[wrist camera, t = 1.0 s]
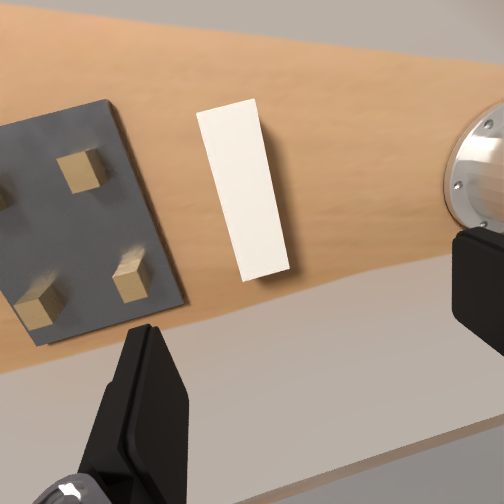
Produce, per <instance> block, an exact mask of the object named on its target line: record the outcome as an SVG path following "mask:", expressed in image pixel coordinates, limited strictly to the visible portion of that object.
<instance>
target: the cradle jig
mask: <svg viewBox="0 0 504 504" xmlns="http://www.w3.org/2000/svg"><path fill="white" fill-rule="evenodd" d="M0 290H1V292H2V293H3V295H4V296H5V298H6V299H7V301H8V303H9V304H10V306H11V307H12V309H13V310H14V312H15V313H16V315H17V317H18V318H19V320H20V321H21V323H22V324H23V326H24V327H25V329H26V331H27V332H28V334H29V335H30V337H31V338H32V340H33V341H34V343H35V345H36V346H41V345H44V344H47V343H51V342H54V341H58V340H61V339H65V338H68V337H72V336H75V335H78V334H82V333H85V332H89V331H92V330H96V329H99V328H103V327H106V326H110V325H113V324H116V323H120V322H123V321H127V320H130V319H134V318H137V317H141V316H144V315H147V314H151V313H154V312H158V311H161V310H165V309H168V308H172V307H175V306H179V305H182V304H184V297H183V294H182V291H181V289H180V286H179V284H178V281H177V278H176V276H175V273H174V270H173V268H172V265H171V263H170V260H169V257H168V255H167V252H166V249H165V247H164V244H163V242H162V239H161V236H160V234H159V231H158V229H157V226H156V223H155V221H154V218H153V215H152V213H151V210H150V208H149V205H148V202H147V200H146V197H145V194H144V192H143V189H142V187H141V184H140V181H139V179H138V176H137V174H136V171H135V168H134V166H133V163H132V160H131V158H130V155H129V153H128V150H127V147H126V145H125V142H124V139H123V137H122V134H121V132H120V129H119V126H118V124H117V121H116V119H115V116H114V113H113V111H112V108H111V105H110V103H109V100H107V99H104V100H100V101H96V102H92V103H88V104H84V105H80V106H77V107H73V108H69V109H65V110H61V111H57V112H53V113H49V114H46V115H42V116H38V117H34V118H30V119H26V120H22V121H19V122H15V123H11V124H7V125H3V126H0Z"/></svg>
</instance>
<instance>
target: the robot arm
mask: <svg viewBox="0 0 504 504" xmlns="http://www.w3.org/2000/svg"><path fill="white" fill-rule="evenodd" d="M444 194H445V200H446V203H447V206H448V208H449V211H450V212H451V214H452V215H453V217H454V218H455V219H456V220H457V221H458V222H459V223H460V224H462V225H463V226H465V227H467V228H469V229H467V230H463V231H460V232H459V233H457V235H456V238H454V239H453V242H452V312H453V315H454V317H455V318H456V319H457V320H458V321H459V322H460V323H462V324H463V325H464V326H465V327H466V328H468V329H469V330H471V331H472V332H473V333H474V334H476V335H477V336H478V337H479V338H481V339H482V340H483V341H484V342H486V343H487V344H488V345H490V346H491V347H492V348H493V349H495V350H496V351H497V352H499V353H500V354H501V355H502V356H504V235H502V234H499V233H503V232H504V101H502V102H500V103H498V104H496V105H493V106H492V107H490V108H489V109H487V110H486V111H485V112H483V113H482V114H480V115H479V116H478V117H477V118H476V119H475V120H474V121H473V122H472V123H471V124H470V125H469V126H468V127H467V129H466V130H465V131H464V133H463V134H462V135H461V136H460V138H459V140H458V141H457V143H456V145H455V147H454V148H453V150H452V153H451V155H450V158H449V161H448V163H447V167H446V172H445V176H444ZM188 423H189V398H188V394H187V391H186V388H185V386H184V384H183V382H182V379H181V377H180V375H179V373H178V370H177V368H176V366H175V363H174V361H173V359H172V357H171V354H170V352H169V350H168V348H167V345H166V343H165V341H164V338H163V336H162V334H161V332H160V330H159V328H158V327H157V326H156V327H152V326H151V325H150V324H145V325H142V326H139V327H135V328H132V329H129V331H128V334H127V337H126V340H125V343H124V346H123V349H122V352H121V356H120V359H119V362H118V365H117V368H116V371H115V374H114V378H113V380H112V382H110V383H109V384H108V385H107V387H106V389H105V392H104V395H103V398H102V401H101V404H100V407H99V410H98V413H97V416H96V419H95V422H94V425H93V428H92V431H91V433H90V436H89V440H88V442H87V445H86V448H85V451H84V454H83V457H82V460H81V463H80V466H79V469H78V472H77V474H72V475H68V476H66V477H64V478H62V479H60V480H58V481H57V482H55V483H54V484H53V485H51V486H50V487H49V488H47V489H46V490H45V491H44V492H43V493H42V494H41V495H40V496H39V497H38V498H37V499H36V500H35V501H34V502H33V504H186V496H187V462H188V426H189V424H188ZM235 504H504V414H502V415H499V416H496V417H493V418H490V419H486V420H483V421H480V422H477V423H474V424H471V425H468V426H465V427H462V428H459V429H456V430H453V431H450V432H447V433H443V434H441V435H437V436H434V437H431V438H429V439H425V440H422V441H419V442H416V443H413V444H410V445H407V446H404V447H401V448H398V449H395V450H392V451H389V452H385V453H382V454H379V455H376V456H374V457H370V458H367V459H364V460H361V461H358V462H355V463H352V464H349V465H347V466H343V467H340V468H337V469H334V470H332V471H329V472H325V473H322V474H319V475H316V476H313V477H310V478H307V479H304V480H301V481H298V482H295V483H292V484H289V485H286V486H283V487H280V488H277V489H274V490H271V491H269V492H266V493H263V494H260V495H257V496H254V497H251V498H249V499H246V500H243V501H240V502H237V503H235Z"/></svg>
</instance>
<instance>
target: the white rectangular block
mask: <svg viewBox="0 0 504 504" xmlns="http://www.w3.org/2000/svg"><path fill="white" fill-rule="evenodd" d="M196 115H197V119H198V123H199V126H200V130H201V133H202V137H203V141H204V144H205V148H206V151H207V155H208V159H209V162H210V166H211V169H212V173H213V177H214V180H215V184H216V187H217V191H218V195H219V198H220V202H221V205H222V209H223V213H224V216H225V220H226V223H227V227H228V231H229V234H230V238H231V241H232V245H233V249H234V252H235V256H236V259H237V263H238V267H239V270H240V274H241V277H242V281H243V282H244V281H247V280H251V279H255V278H258V277H262V276H265V275H269V274H272V273H276V272H280V271H283V270H287V269H290V267H289V263H288V258H287V253H286V248H285V243H284V238H283V234H282V229H281V224H280V219H279V214H278V210H277V205H276V200H275V195H274V190H273V186H272V181H271V176H270V171H269V166H268V161H267V157H266V152H265V147H264V142H263V137H262V133H261V128H260V123H259V118H258V113H257V108H256V104H255V99H250V100H246V101H242V102H238V103H234V104H230V105H226V106H222V107H218V108H214V109H210V110H206V111H202V112H198V113H196Z"/></svg>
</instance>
